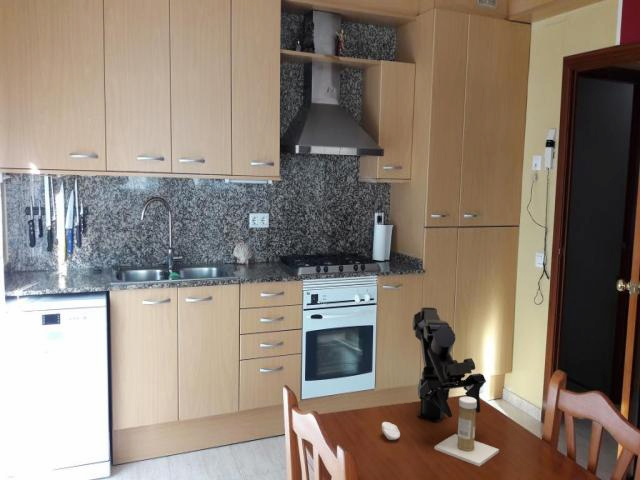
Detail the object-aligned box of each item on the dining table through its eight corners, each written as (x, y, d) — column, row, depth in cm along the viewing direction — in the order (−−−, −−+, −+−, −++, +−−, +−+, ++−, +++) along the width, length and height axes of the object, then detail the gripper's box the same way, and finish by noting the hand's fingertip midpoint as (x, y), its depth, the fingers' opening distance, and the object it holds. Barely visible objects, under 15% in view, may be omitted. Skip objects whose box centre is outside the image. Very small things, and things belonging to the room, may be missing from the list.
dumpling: (379, 432, 157) (380, 419, 157) (397, 432, 158) (398, 419, 157) (383, 444, 150) (384, 430, 150) (402, 444, 151) (403, 430, 150)
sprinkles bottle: (477, 448, 147) (480, 400, 146) (466, 453, 144) (468, 403, 143) (464, 442, 151) (467, 394, 150) (453, 446, 148) (455, 397, 147)
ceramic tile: (434, 449, 148) (434, 446, 148) (455, 436, 156) (455, 433, 156) (479, 466, 139) (479, 463, 139) (498, 452, 147) (499, 449, 147)
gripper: (427, 351, 148) (450, 406, 139) (483, 345, 155) (508, 397, 146) (410, 370, 156) (430, 424, 147) (464, 364, 163) (487, 414, 154)
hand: (465, 414), depth 148 cm, fingers open, 9 cm apart
